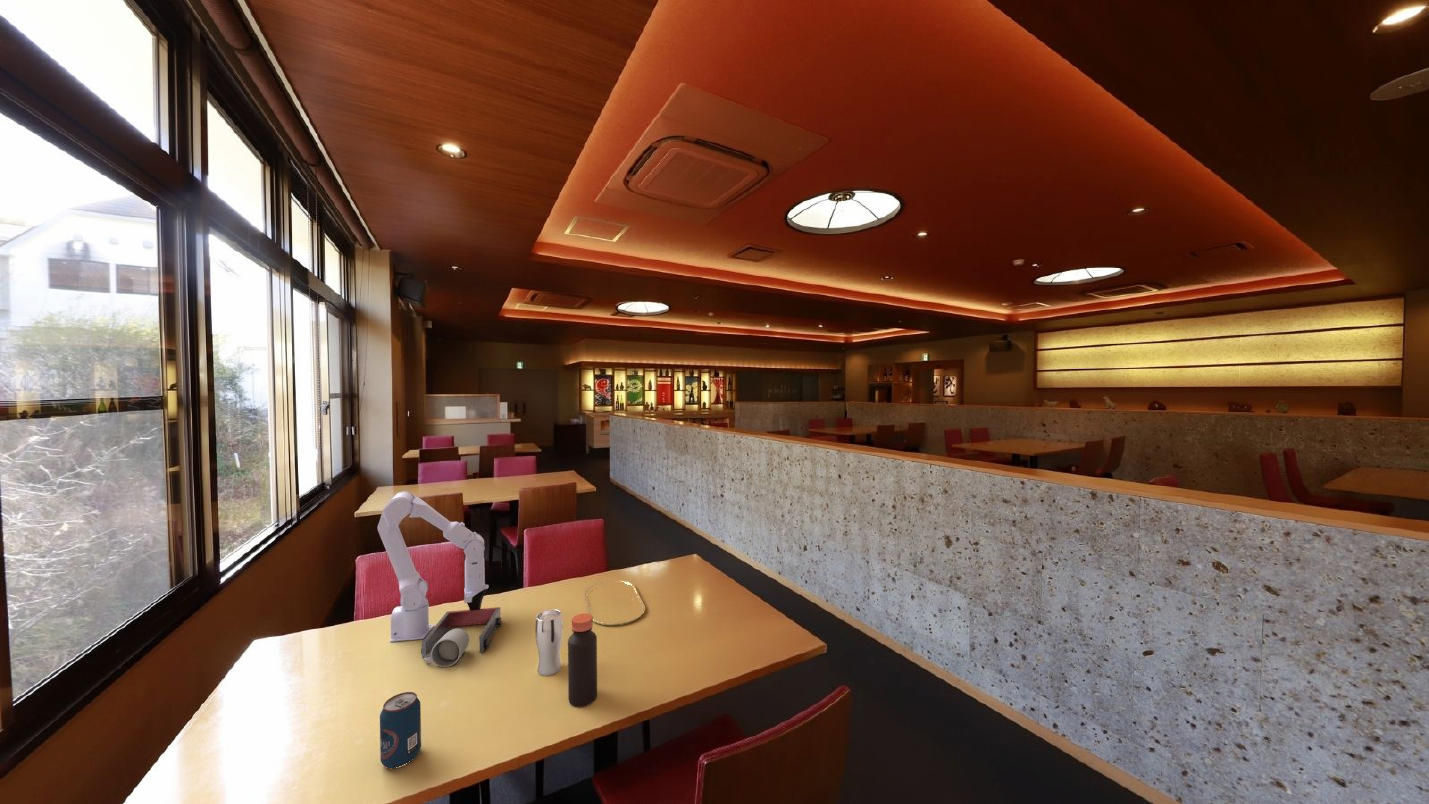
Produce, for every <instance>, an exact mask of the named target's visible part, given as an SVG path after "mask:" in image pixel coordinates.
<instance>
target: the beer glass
mask: <svg viewBox="0 0 1429 804" xmlns="http://www.w3.org/2000/svg"><path fill="white" fill-rule="evenodd" d="M563 628H564V625H563V615H562V611H561V610H559V609H556V608H552V609H549V608H548V609H545V610H542V611H540V612H538V613H537V614H536V616H535V635H534V636H535V643H536V646H537V647H536V648H537V652H538V664H537V665H538V666H537V674H538V675H540V676H542V677H549V676H553V675H556V674H557V673H559V672H560V670H561V669H562V661H561V653H560V652H561V645H562V640H563V630H564V629H563Z"/></svg>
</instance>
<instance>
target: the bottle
mask: <svg viewBox="0 0 1429 804" xmlns="http://www.w3.org/2000/svg"><path fill="white" fill-rule="evenodd" d="M593 618H594V615H593V616H592V615H590V614H588V613H584V612H583V613H579V614H576V615H574V616H573V617H572V618H571V631H572V632H573V633H572V634H571V635H569V637H568V639H567V640H568V641H567V675H568V676H567V677H568V679H567V682H568V683H567V687H568V690H567V693H568V697H567V699H568V702H569V704H570V705H571V706H573V707H576V708H581V707H587V706H589V705H591V704H592V703H594V702H595V701H596V699H597V697H598V645H597V644H598V637H597V636H598V635H596V633H595V632H594V631H593V626H594V625H593V624H594V623H593V622H594V621H593Z"/></svg>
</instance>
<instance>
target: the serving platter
mask: <svg viewBox="0 0 1429 804" xmlns="http://www.w3.org/2000/svg"><path fill="white" fill-rule="evenodd" d="M611 581H616V582H624V583H625V584H627V585H631V586H632V587H633V589H634V593H635V594H637V598H638V602H640V603H641V606H642V611H643V612H642V614H641V615H640V614H639V615H640V616H639V615H638V616H637V617H635V618H633V619H630V620H627V621H623V622H615V623H606V622H602V621H601V622H600V621H597V620H596V619H595V618H594V619H595V620H596V621H595V620H594V619H593V622H594V623H596V624H597V623H598V624H597V625H600V624H601V625H600V626H605V625H607V627H616V626H615V625H619V626H624V625H628V624H630V622H631V623H633V622H635V621H637V620H638V619H639V618H641V617H642V616H643V615H644V613H645V612H646V605H645V604H644V602H643V600H642V597H641V596H640V594H639V591H638V590H637V588H636V586H635V585H634V584H633V583H632V582H630V581H627V580H620V579H616V580H615V579H611V580H605V581H604V580H603V581H600V582H599V581H598V582H596V583H594V584H592V585H590V586H588V587H587V588H585V590H584V592H583V596H584V601H585V604H586V605H585V606H586V608H587V614H590V615H591V612H590V611H591V610H592V608H591V609H590V607H589V604H588V602H590V600H589V601H588V599H589V597H588V598H587V594H588V592H589V591H590V589H592V588H593V587H594V586H596V585H601V584H604V583H607V582H611ZM588 595H589V594H588ZM632 621H633V622H632ZM627 623H628V624H627ZM623 624H624V625H623Z"/></svg>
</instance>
